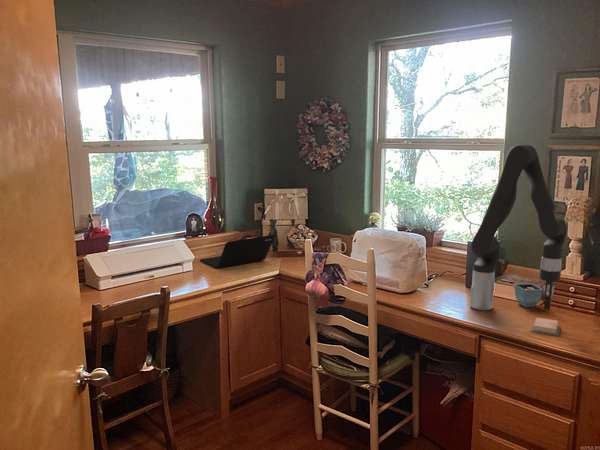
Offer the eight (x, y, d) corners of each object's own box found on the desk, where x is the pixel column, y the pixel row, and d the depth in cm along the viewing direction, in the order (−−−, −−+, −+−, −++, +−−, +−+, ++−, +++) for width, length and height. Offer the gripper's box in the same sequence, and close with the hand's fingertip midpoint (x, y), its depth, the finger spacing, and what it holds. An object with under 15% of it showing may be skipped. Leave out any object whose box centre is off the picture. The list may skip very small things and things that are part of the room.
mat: (530, 331, 201) (530, 330, 201) (532, 323, 210) (532, 322, 210) (558, 335, 197) (559, 334, 196) (559, 327, 205) (559, 326, 205)
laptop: (245, 254, 333) (245, 225, 330) (276, 266, 303) (276, 234, 300) (199, 261, 314) (197, 231, 311) (227, 275, 284) (225, 241, 281)
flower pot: (541, 308, 228) (543, 289, 226) (523, 309, 226) (525, 290, 225) (530, 301, 236) (531, 283, 235) (512, 303, 235) (514, 284, 233)
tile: (535, 322, 210) (533, 330, 201) (536, 317, 210) (534, 325, 201) (557, 325, 206) (556, 333, 197) (557, 320, 206) (556, 329, 197)
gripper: (541, 263, 211) (538, 303, 214) (538, 270, 199) (535, 312, 202) (561, 265, 207) (558, 305, 210) (560, 273, 196) (556, 315, 199)
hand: (546, 309), depth 206 cm, fingers closed
